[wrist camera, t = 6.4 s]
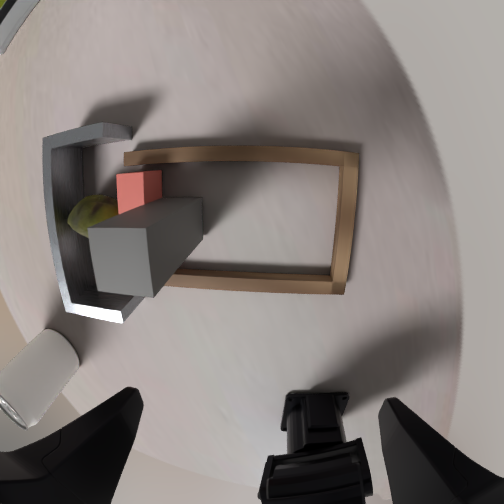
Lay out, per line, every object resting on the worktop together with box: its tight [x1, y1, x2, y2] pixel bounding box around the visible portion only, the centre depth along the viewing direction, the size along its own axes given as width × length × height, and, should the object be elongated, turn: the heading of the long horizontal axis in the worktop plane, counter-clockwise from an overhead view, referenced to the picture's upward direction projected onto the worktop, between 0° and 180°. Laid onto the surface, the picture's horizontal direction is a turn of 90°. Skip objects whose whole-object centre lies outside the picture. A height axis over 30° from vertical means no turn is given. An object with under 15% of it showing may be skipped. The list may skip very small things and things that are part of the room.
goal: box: [43, 122, 144, 323], centre depth 18 cm, size 14×6×4 cm, turn 179°
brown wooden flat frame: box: [124, 146, 359, 295], centre depth 19 cm, size 10×16×1 cm, turn 89°
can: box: [0, 329, 79, 430], centre depth 20 cm, size 6×6×12 cm
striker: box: [87, 170, 203, 298], centre depth 15 cm, size 7×5×9 cm
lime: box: [68, 194, 119, 238], centre depth 17 cm, size 4×5×5 cm
